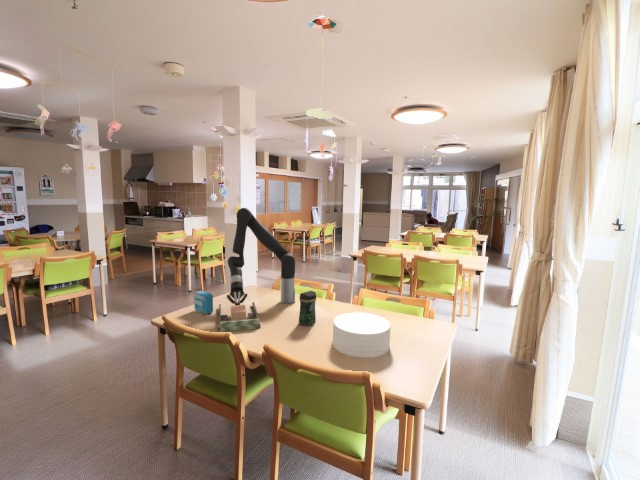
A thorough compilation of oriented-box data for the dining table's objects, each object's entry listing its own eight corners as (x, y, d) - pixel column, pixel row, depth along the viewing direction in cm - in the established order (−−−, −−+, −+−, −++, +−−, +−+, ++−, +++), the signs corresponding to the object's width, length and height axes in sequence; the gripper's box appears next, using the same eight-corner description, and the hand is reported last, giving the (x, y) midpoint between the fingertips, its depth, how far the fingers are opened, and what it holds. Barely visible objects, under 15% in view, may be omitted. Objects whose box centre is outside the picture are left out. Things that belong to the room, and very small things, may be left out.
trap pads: (254, 312, 201) (254, 312, 201) (255, 317, 194) (255, 317, 194) (220, 315, 196) (220, 315, 196) (220, 320, 188) (220, 319, 188)
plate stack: (352, 328, 182) (353, 308, 181) (399, 343, 165) (400, 321, 163) (321, 345, 161) (321, 322, 159) (370, 364, 143) (371, 339, 142)
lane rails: (254, 305, 215) (253, 298, 214) (260, 328, 179) (260, 319, 178) (219, 307, 209) (219, 300, 208) (218, 331, 173) (218, 322, 172)
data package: (194, 310, 203) (194, 292, 201) (200, 308, 207) (200, 290, 205) (207, 314, 196) (206, 295, 195) (213, 312, 200) (212, 293, 199)
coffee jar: (306, 327, 181) (307, 295, 179) (296, 323, 186) (297, 292, 184) (318, 322, 189) (318, 291, 186) (307, 319, 194) (308, 288, 191)
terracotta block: (244, 316, 196) (244, 304, 195) (246, 323, 185) (246, 311, 184) (231, 317, 194) (230, 305, 193) (231, 324, 183) (231, 312, 182)
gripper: (225, 281, 200) (226, 307, 190) (247, 280, 204) (249, 305, 194) (225, 287, 206) (226, 312, 196) (247, 286, 210) (248, 311, 200)
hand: (237, 309), depth 195 cm, fingers closed
